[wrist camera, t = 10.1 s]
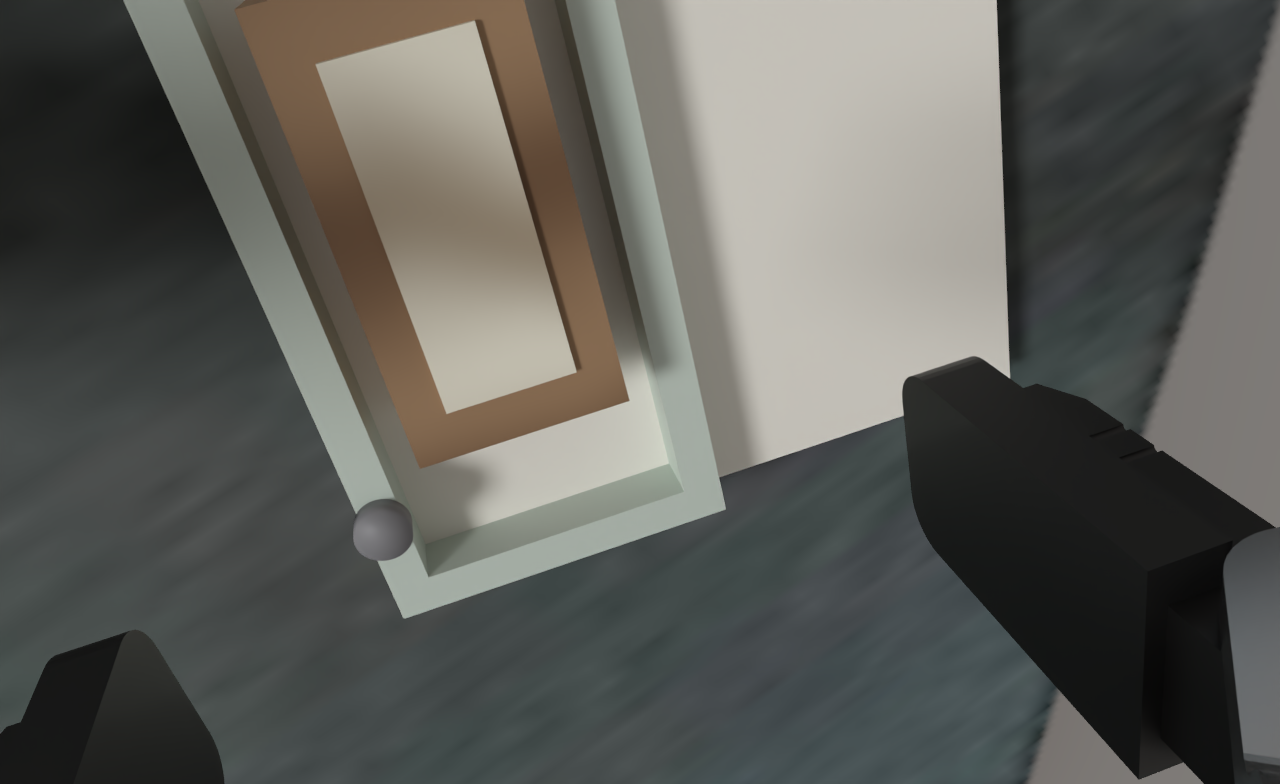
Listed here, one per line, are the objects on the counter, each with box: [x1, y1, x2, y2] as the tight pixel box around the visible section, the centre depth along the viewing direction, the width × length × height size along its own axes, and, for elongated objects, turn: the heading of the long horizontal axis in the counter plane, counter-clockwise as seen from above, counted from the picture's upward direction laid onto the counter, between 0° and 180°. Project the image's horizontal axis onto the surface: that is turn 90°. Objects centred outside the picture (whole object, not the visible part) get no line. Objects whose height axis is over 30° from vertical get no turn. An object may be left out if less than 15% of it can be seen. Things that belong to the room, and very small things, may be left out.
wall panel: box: [123, 0, 1010, 619], centre depth 23 cm, size 20×19×3 cm
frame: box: [234, 0, 630, 469], centre depth 21 cm, size 10×5×3 cm, turn 13°
